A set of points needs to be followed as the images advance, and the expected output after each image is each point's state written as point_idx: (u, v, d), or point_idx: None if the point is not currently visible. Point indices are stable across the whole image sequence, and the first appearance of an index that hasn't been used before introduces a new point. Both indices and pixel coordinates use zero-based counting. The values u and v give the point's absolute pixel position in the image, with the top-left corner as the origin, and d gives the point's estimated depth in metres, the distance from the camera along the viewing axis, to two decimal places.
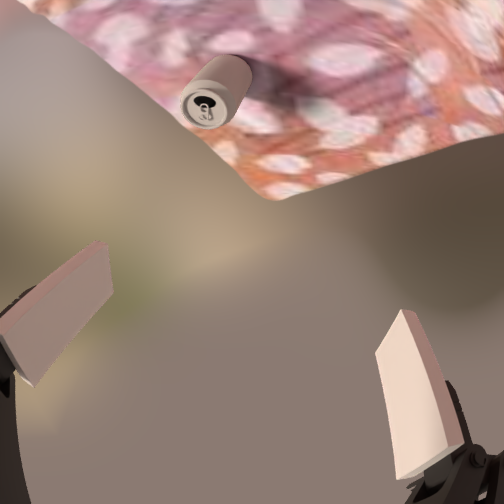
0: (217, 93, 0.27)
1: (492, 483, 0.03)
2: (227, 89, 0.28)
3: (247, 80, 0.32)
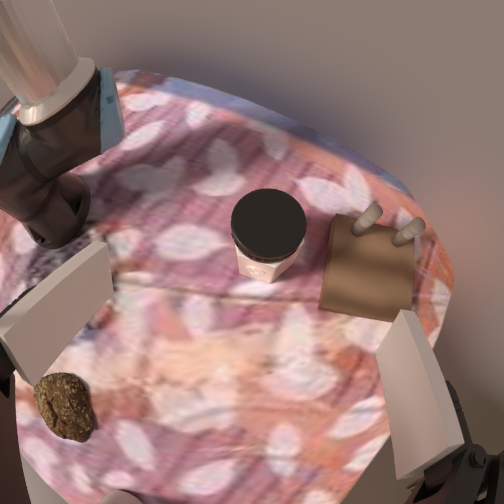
0: None
1: (491, 483, 0.03)
2: None
3: None
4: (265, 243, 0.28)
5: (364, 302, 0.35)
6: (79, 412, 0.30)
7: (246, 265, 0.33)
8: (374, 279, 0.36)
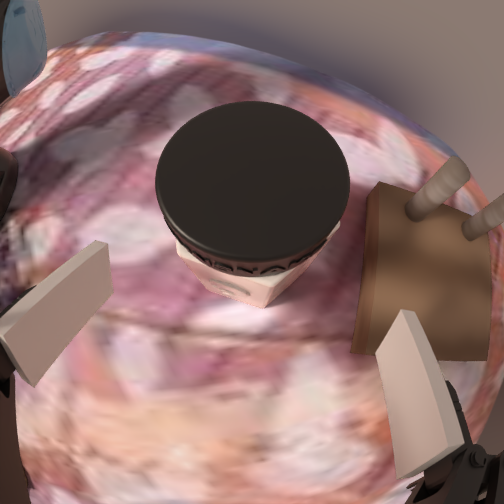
0: None
1: (492, 483, 0.03)
2: None
3: None
4: (241, 221, 0.10)
5: (432, 339, 0.17)
6: None
7: (208, 278, 0.15)
8: (445, 296, 0.18)
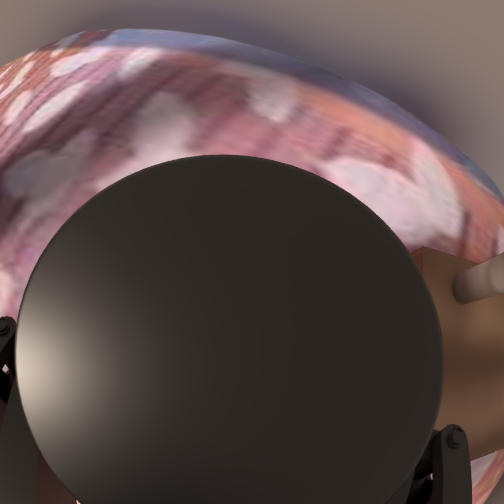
0: None
1: (433, 461, 0.04)
2: None
3: None
4: None
5: None
6: None
7: None
8: (481, 395, 0.11)
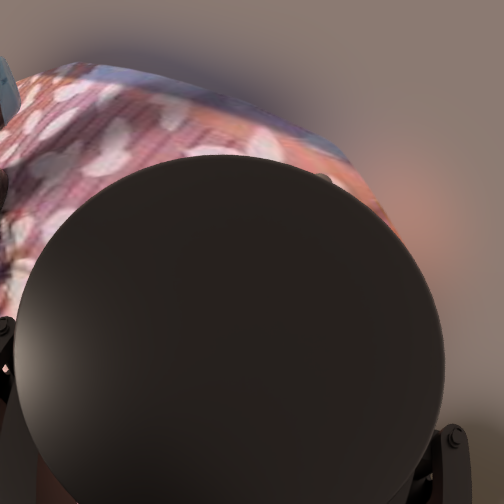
0: None
1: (433, 461, 0.04)
2: None
3: None
4: None
5: None
6: None
7: None
8: None
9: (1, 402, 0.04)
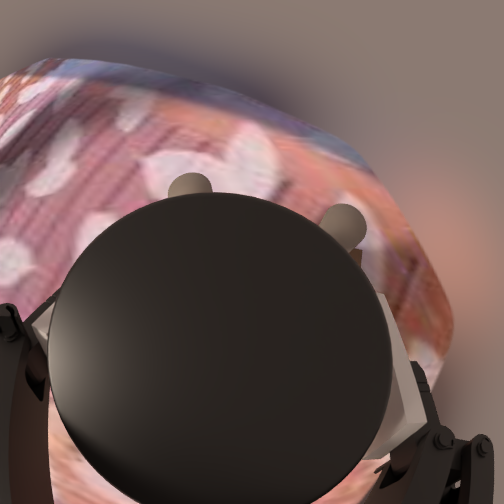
0: None
1: (463, 470, 0.04)
2: None
3: None
4: (182, 482, 0.04)
5: None
6: None
7: None
8: None
9: None
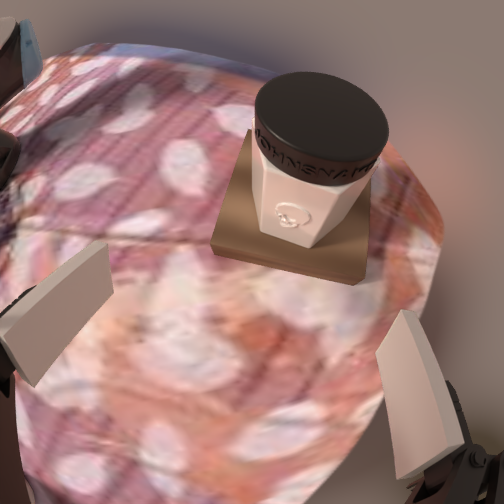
0: None
1: (492, 483, 0.03)
2: None
3: None
4: (324, 136, 0.13)
5: (280, 241, 0.24)
6: None
7: (277, 202, 0.18)
8: None
9: None
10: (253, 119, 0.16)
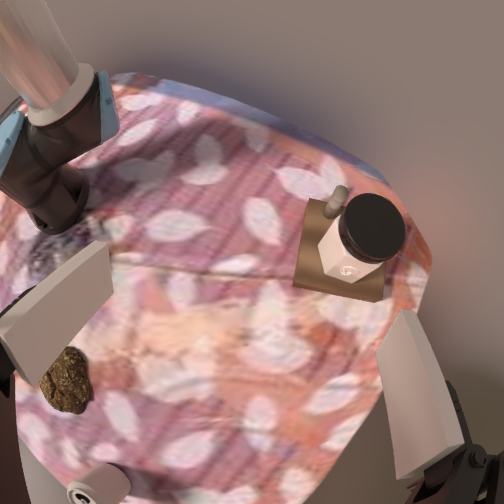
0: (87, 493, 0.20)
1: (491, 483, 0.03)
2: (94, 490, 0.21)
3: (120, 484, 0.27)
4: (376, 244, 0.28)
5: (336, 279, 0.39)
6: (76, 382, 0.34)
7: (344, 265, 0.33)
8: None
9: None
10: (335, 221, 0.31)
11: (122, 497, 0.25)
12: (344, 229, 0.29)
